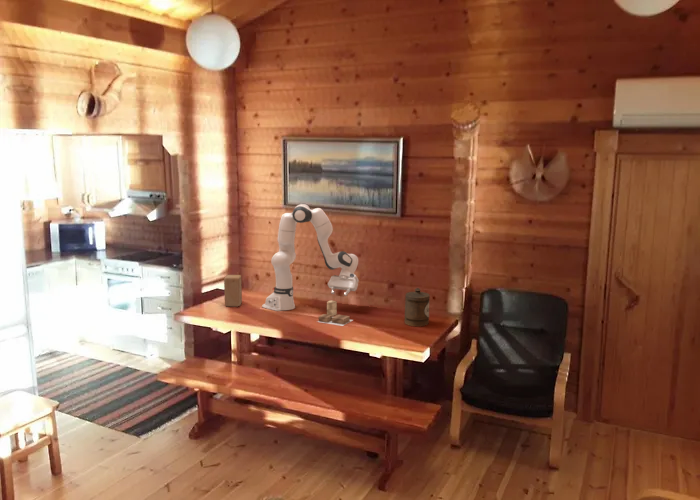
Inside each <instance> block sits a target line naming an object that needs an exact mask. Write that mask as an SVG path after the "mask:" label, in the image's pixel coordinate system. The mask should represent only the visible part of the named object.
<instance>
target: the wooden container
mask: <svg viewBox="0 0 700 500" xmlns="http://www.w3.org/2000/svg"><path fill="white" fill-rule="evenodd" d="M430 298H431V297H430V294H429V293H428V292H424V291H421V288H419V287H416V288H415V289H414V291H409V292H406V293H405V300H404V301H405V303H404V304H405V305H404V323H405V325H408V326H410V327H411V326H412V327H425V325H426V326H428V325H429V323H430V322H429V321H430V320H429V319H430Z"/></svg>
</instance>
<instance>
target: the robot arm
mask: <svg viewBox="0 0 700 500" xmlns="http://www.w3.org/2000/svg"><path fill="white" fill-rule="evenodd" d="M309 222H310V223H311V224H312V226H313V227H314V228H313V229H314V230H315V232H316V239H317V243H318V246H319V248H320V251H321V253H322V255H323V259H324V263H325V267H327V269H329V270H336V269H339V268H341V270H340V273H339V275H335V274H334V275H332V276H331V277H330V279H329V281H328V282H327V287H328V288H329V289H331V291H330V293H331V294H332V295H335V292H336V291H334V290H341V291H342V290H344V291H345V292H344V293H343V295H344V296H345V297H346V296H348V295H349V293H350V292H356V291H357V289H358V286H359V281H360V280H359V278H358V276H357V275H356V274H355V272H356V270H357V267H358V265H359V257H358V256H357V255H356V254H354V253H347V252H346V251H338V252H334V253H333V251H332V250H331V247H330V245H329V237H330V236H331V235H332V233H333V229H334V227H333V224H332V222H331V220H330V219H329V217H328V215H327V214H326V213H325V211H324V210H323V209H322V208H320V207H316V208H313V209H311V207H310V205H309V204H307V203H299V204H298V205H296V206H295V207H294V208H293V210H292V212H285V213H283V214H282V215H281V218H280V220H279V225H278V232H277V242H278V252H275V254H273V256H272V257H271V260H270V263H271V265H272V267H273V270H274V275H275V286H274V287H273V288H272V291H273V292H272V293H270V295H268V296H267V297H266V298H265V303H263V304H262V305H261V308H265V309H267V310H270V311H271V310H272V311H274V312H280V311H290V310H294V309H296V305H295V301H294V287H293V284H294V283H293V274H292V271H291V267H290V266H291V265H292V264H293V263H294V261H295V260H296V259H297V258H296V257H297V253H296V249H295V247H296V246H295V239H296V238H295V237H296V230H297V223H300V224H301V223H302V224H303V223H309Z"/></svg>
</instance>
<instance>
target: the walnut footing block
mask: <svg viewBox="0 0 700 500" xmlns="http://www.w3.org/2000/svg"><path fill="white" fill-rule="evenodd" d="M332 317H333V316H332V315H327V313H323V314H320V315H319V316H318V321H321V322H329V321H331V320H332ZM321 322H320V323H321Z"/></svg>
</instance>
